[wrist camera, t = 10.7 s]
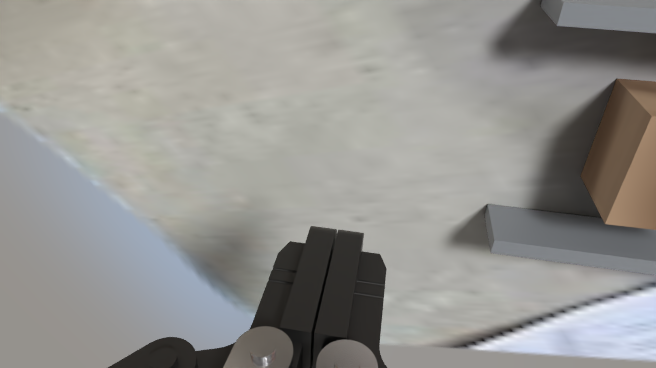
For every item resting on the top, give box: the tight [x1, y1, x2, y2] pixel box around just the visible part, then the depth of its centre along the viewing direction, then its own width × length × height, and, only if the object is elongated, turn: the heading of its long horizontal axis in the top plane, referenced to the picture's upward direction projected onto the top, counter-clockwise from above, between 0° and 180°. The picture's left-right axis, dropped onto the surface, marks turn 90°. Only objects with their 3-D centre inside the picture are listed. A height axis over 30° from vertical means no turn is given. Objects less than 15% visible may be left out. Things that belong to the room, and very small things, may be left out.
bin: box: [485, 0, 656, 275], centre depth 20 cm, size 11×12×3 cm
